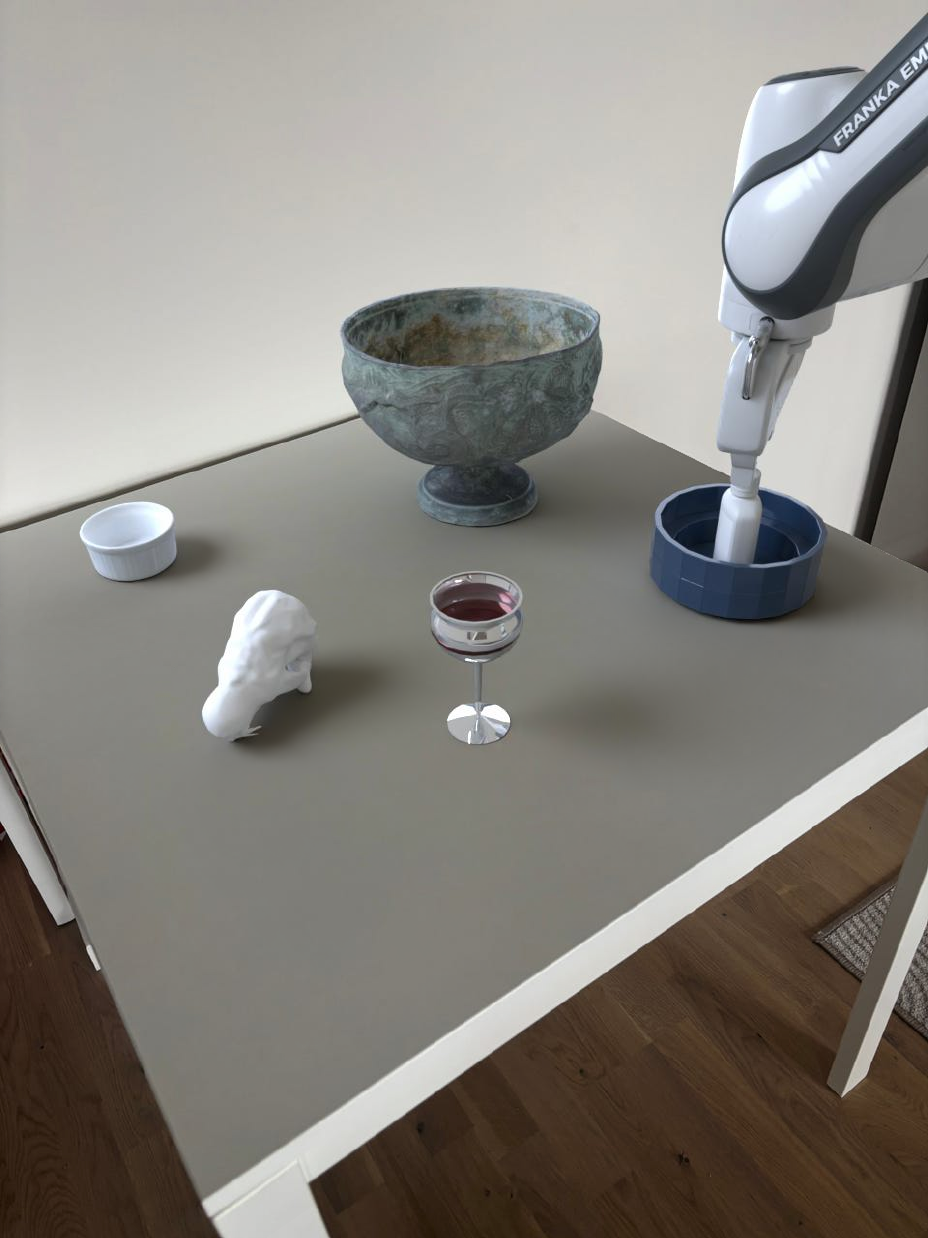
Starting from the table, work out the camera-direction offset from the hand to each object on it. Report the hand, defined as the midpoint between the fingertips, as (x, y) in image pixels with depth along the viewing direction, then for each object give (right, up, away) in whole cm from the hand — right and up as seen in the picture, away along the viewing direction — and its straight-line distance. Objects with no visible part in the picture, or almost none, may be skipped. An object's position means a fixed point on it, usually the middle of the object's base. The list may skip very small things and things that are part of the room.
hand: (752, 459), depth 85 cm
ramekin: (-58, -8, +12) cm, 60 cm away
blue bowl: (0, -10, +7) cm, 12 cm away
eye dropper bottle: (0, -10, +7) cm, 12 cm away
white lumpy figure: (-42, -21, -6) cm, 47 cm away
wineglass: (-24, -22, -8) cm, 34 cm away
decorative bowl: (-24, -1, +22) cm, 32 cm away
